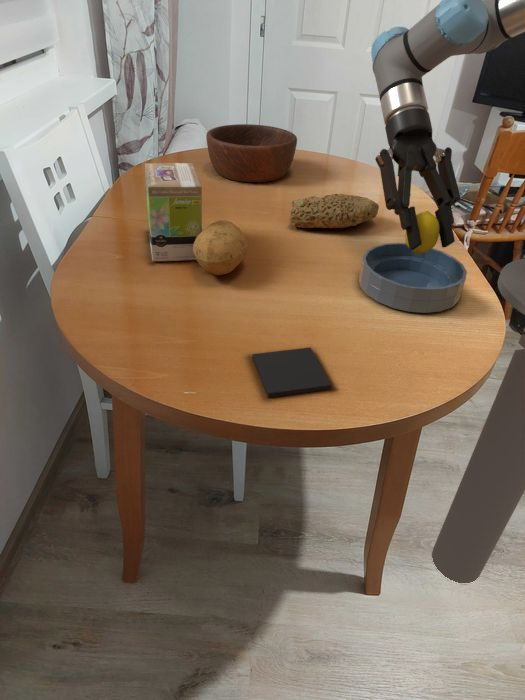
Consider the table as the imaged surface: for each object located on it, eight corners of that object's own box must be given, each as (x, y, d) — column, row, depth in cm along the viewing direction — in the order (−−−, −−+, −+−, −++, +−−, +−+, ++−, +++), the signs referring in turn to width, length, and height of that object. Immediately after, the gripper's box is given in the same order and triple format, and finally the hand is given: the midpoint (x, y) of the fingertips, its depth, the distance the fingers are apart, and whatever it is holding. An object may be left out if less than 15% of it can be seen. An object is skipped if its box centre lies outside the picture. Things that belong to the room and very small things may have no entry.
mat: (310, 351, 78) (310, 347, 78) (331, 389, 71) (331, 384, 71) (252, 358, 76) (252, 353, 76) (268, 397, 69) (268, 393, 69)
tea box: (204, 260, 101) (202, 185, 92) (151, 263, 99) (145, 186, 90) (195, 230, 113) (193, 160, 104) (148, 231, 111) (142, 161, 102)
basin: (427, 263, 105) (433, 240, 102) (479, 309, 91) (487, 284, 88) (344, 269, 101) (347, 246, 98) (384, 319, 87) (390, 293, 84)
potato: (184, 283, 93) (182, 242, 88) (203, 251, 104) (202, 213, 100) (237, 290, 92) (238, 248, 87) (251, 256, 103) (252, 218, 99)
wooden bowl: (262, 155, 162) (263, 120, 156) (312, 178, 146) (315, 140, 140) (191, 165, 150) (190, 128, 144) (236, 192, 134) (237, 151, 128)
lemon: (420, 246, 95) (430, 204, 90) (439, 259, 91) (451, 215, 86) (395, 250, 93) (404, 207, 88) (413, 263, 89) (424, 219, 84)
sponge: (292, 239, 114) (384, 227, 111) (287, 203, 111) (382, 190, 108) (294, 226, 126) (378, 216, 123) (291, 194, 123) (376, 182, 120)
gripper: (441, 130, 96) (467, 249, 93) (349, 132, 92) (372, 257, 88) (465, 105, 89) (494, 233, 85) (366, 106, 84) (392, 240, 81)
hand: (432, 245), depth 87 cm, fingers closed on lemon, 5 cm apart
